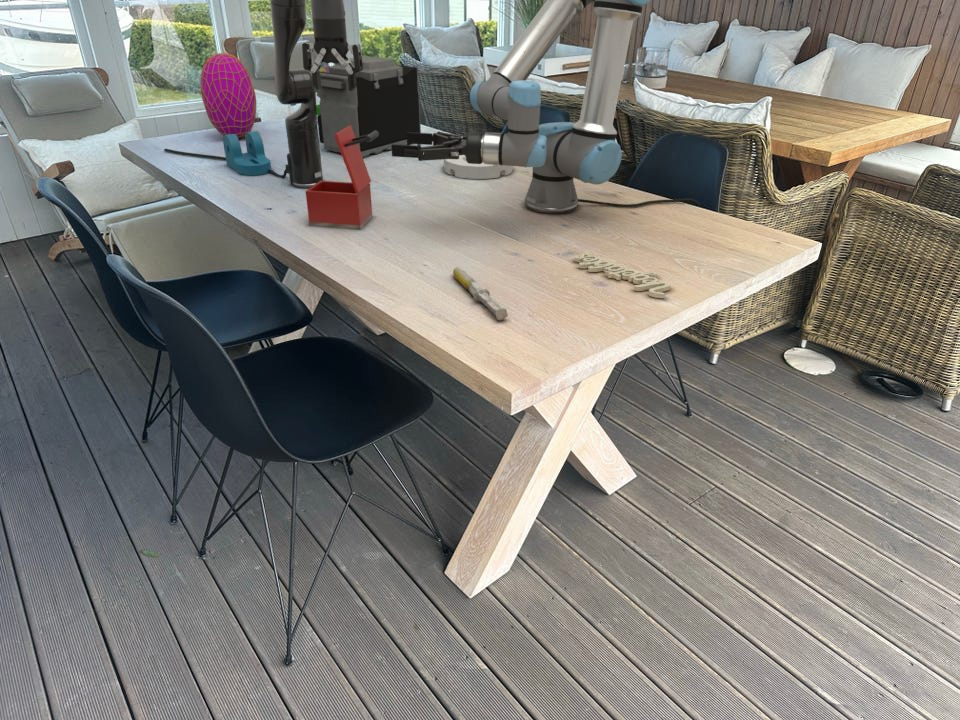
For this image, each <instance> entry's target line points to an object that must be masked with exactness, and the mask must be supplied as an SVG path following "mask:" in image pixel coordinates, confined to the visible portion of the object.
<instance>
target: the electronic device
mask: <svg viewBox="0 0 960 720" xmlns="http://www.w3.org/2000/svg"><path fill="white" fill-rule="evenodd" d="M348 58H349V57H348ZM349 59H350V61H351V63H352V65H353V66H354V67H355V65H354V57H350V58H349ZM362 63H363V70H362V71H360V72H357V73H356V88H355V89H354V91H349V86H348V75H349V73H348V72H347V70H346V69H345V68H344V67H343V66H342V65H341V64H340V63H338V64H333V65H330V66H331V67H329V73H328V72H321V71H319V72H320V77H321V89H319V90H317V89H316V88H315V90H316V94H318V96H319V97H318V96H317V97H318V98H319V105H320V111H321V115H319V116H317V127H318V137H319V144H323V146H324V149H325V150H327V151H330V152H335V153H340V154H341V152H340V149H339V147H338V144H337V141H336V139H335V136H334V135H335V134H336V133H338V132H340V131H341V130H343V129H344V128H346V127H348V126H351V127H352V130H353V132H354V135H355V138H357V137H361V136H364V135H368V134H370V133H372V132H373V131H375V130H376V131H378V132H379V136H377V137H376V138H375V139H373V140H372V141H370V142H366V141H365V142H362V143H358V146H359V149H360V152H361V154H362V157H363V158H366V157H367V158H368V157H369V155H371V154H375V155H377V154H381V153H382V152H383V151H392V146H391V145H392V144H395V145H408V144H407V132H414V133H422V128H421V97H420V92H419V91H420V89H419V68H418V67H417V66H408V65H400V64H396V62H395V60H394V59H393V58H385V57H377V56H367V55H362Z"/></svg>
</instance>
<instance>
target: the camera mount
mask: <svg viewBox="0 0 960 720" xmlns="http://www.w3.org/2000/svg"><path fill="white" fill-rule="evenodd" d="M244 137H245V146H246V152H243V151H242V150H243V149H242V146H241V142H240V140H239V138H237V136H236V135H235V134H230V135H224V136H223V138H222V140H223V141H222V143H223V149H224V150H223V151H224V157H226V160H225V162H226V165H227V166H228V167H230V168H231V169H232V170H234V171H236V172H237V173H238V174H239V175H244V176H260V175H265V174H268V173H270V172H268V170H269V169H270V170H272V164H271V159H270V158H268V157H267V156H266V153H265V145H264V141H263V139H262V136H261V134H260V132H258V131H250V132H247V133H246V136H244Z"/></svg>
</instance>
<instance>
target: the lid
mask: <svg viewBox="0 0 960 720" xmlns="http://www.w3.org/2000/svg"><path fill="white" fill-rule="evenodd" d="M334 136H335V139H336V141H337V144H338V147H339V149H340V152H341V153H340V154H341V158H342V159H343V162H344V165H345V168H346V171H347V173H348V176H349V178H350V181H351V182H352V184H353V186H354V189H355V192H356V193H359V192H360V191H361V190H362V189H363V188H364V187H366V186H367V185H368V184H371V182H372V180H371V176H370V174H369V171H368V169H367V166H366V163H365V160H364V157H362V154H361V152H360V149H359V146H358V143H362V142H365V141H366V142H370V141H372V140H373V139H375V138H376V137H377V136H379V132H378V131H376V130H375V131H373V132H372V133H370V134H368V135H364V136H361V137H357V138H355V135H354V132H353V130H352V127H351V126H348V127H346V128H344V129H343V130H341V131H340V132H338V133H336V134H335V135H334Z"/></svg>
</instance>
